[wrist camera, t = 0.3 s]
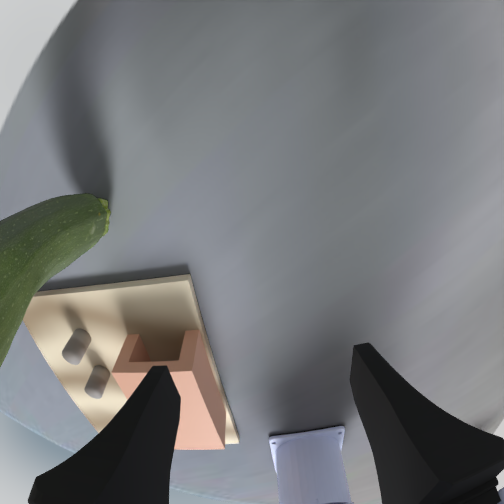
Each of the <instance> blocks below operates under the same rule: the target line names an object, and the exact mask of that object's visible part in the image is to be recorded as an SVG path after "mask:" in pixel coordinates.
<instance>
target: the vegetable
mask: <svg viewBox="0 0 504 504" xmlns="http://www.w3.org/2000/svg"><path fill="white" fill-rule="evenodd" d="M107 208H108V200H105V199H101V198H96V197H95V196H94V195H92V194H89V193H83V194H74V195H65V196H60V197H55V198H52V199H49V200H46V201H43V202H40V203H38V204H35V205H33V206H31V207H28V208H26V209H24V210H22V211H20V212H18V213H16V214H14V215H11V216H9V217H7V218H5V219H3V220H1V221H0V367H1V365H2V363H3V361H4V359H5V357H6V355H7V353H8V350H9V348H10V346H11V343H12V341H13V338H14V336H15V334H16V332H17V330H18V328H19V326H20V324H21V322H22V320H23V318H24V315H25V313H26V310H27V308H28V306H29V304H30V302H31V300H32V298H33V296H34V295H35V293H36V292H37V291H38V290H39V289H40V288H41V287H42V286H43V285H44V284H45V283H46V282H47V281H48V280H49V279H50V278H51V277H52V276H54V275H56V274H57V273H59V272H60V271H62V270H63V269H65V268H66V267H67V266H69V265H70V264H71V263H72V262H74V261H75V260H76V259H77V258H79V257H80V256H81V255H82V254H84V253H85V252H87V251H88V250H89V249H90V248H92V247H93V246H94V245H95V244H96V243H97V242H98V241H99V239H100V238H101V237H102V236H104V235H105V234H106V233H107V232H108V225H109V216H110V214H111V211H110V210H109V209H107Z"/></svg>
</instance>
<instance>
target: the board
mask: <svg viewBox="0 0 504 504" xmlns="http://www.w3.org/2000/svg"><path fill="white" fill-rule="evenodd" d="M23 321H24V323H25V325H26V327H27V328H28V330H29V332H30V334H31V336H32V337H33V339H34V341H35V343H36V344H37V346H38V348H39V349H40V351H41V353H42V354H43V356H44V358H45V359H46V361H47V362H48V364H49V366H50V367H51V369H52V370H53V372H54V373H55V375H56V376H57V378H58V379H59V381H60V382H61V384H62V385H63V387H64V388H65V390H66V391H67V392H68V394H69V395H70V397H71V398H72V399H73V401H74V402H75V403H76V405H77V406H78V407H79V409H80V410H81V411H82V413H83V414H84V415H85V417H86V418H87V419H88V420H89V422H90V423H91V424H92V425H93V427H94V428H95V429H96V430H97V431H98V433H100V432H101V431H102V430H103V428H104V427H105V426H106V425H107V424H108V423H109V422H110V421H111V420H112V419H113V417H114V416H115V415H116V414H117V413H118V411H119V410H120V409H121V408H122V407H123V405H124V404H125V403H126V401H127V398H126V397H125V395H124V393H123V392H122V390H121V388H120V387H119V385H118V383H117V382H116V380H115V378H114V376H113V375H112V373H111V372H112V370H113V367H114V365H115V363H116V360H117V358H118V355H119V353H120V351H121V348H122V346H123V344H124V341H125V339H126V337H127V335H130V334H139V335H140V337H141V339H142V342H143V344H144V346H145V348H146V351H147V353H148V355H149V357H150V360H151V362H157V361H178V360H179V357H180V353H181V348H182V344H183V339H184V335H185V331H189V330H199V331H200V334H201V337H202V340H203V344H204V347H205V350H206V353H207V356H208V360H209V363H210V366H211V369H212V372H213V375H214V378H215V381H216V384H217V387H218V390H219V393H220V396H221V399H222V402H223V404H224V407H225V410H226V430H225V444H236V443H240V437H239V434H238V431H237V428H236V425H235V423H234V420H233V417H232V414H231V411H230V408H229V405H228V402H227V399H226V396H225V393H224V389H223V386H222V383H221V380H220V377H219V374H218V370H217V367H216V364H215V361H214V357H213V354H212V351H211V347H210V344H209V341H208V337H207V334H206V330H205V327H204V323H203V320H202V316H201V313H200V309H199V306H198V302H197V298H196V295H195V291H194V287H193V283H192V279H191V276H190V274H186V275H178V276H170V277H162V278H153V279H145V280H136V281H128V282H119V283H111V284H102V285H93V286H84V287H75V288H66V289H57V290H47V291H38V292H36V293H35V295H34V296H33V298H32V300H31V302H30V304H29V306H28V308H27V310H26V313H25V315H24V318H23Z"/></svg>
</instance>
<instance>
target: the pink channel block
mask: <svg viewBox="0 0 504 504" xmlns="http://www.w3.org/2000/svg"><path fill="white" fill-rule="evenodd" d="M164 365H167V367H168V369H169V372H170V374H171V376H172V379H173V381H174V383H175V385H176V388H177V390H178V392H179V394H180V397H181V408H180V421H179V426H178V432H177V437H176V442H175V447H174V449H183V450H209V449H225V430H226V410H225V407H224V404H223V402H222V399H221V396H220V393H219V390H218V387H217V384H216V381H215V378H214V375H213V372H212V369H211V366H210V363H209V360H208V356H207V353H206V350H205V347H204V344H203V340H202V337H201V334H200V331H199V330H189V331H185V335H184V339H183V344H182V348H181V353H180V357H179V360H178V361H157V362H151V360H150V357H149V355H148V353H147V351H146V348H145V346H144V344H143V342H142V339H141V337H140V335H139V334H130V335H127V337H126V339H125V341H124V344H123V346H122V348H121V351H120V353H119V355H118V358H117V360H116V363H115V365H114V367H113V370H112V372H111V373H112V375H113V376H114V378H115V380H116V382H117V383H118V385H119V387H120V388H121V390H122V392H123V393H124V395H125V397H126V398H127V400H128V399H129V397H130V396H131V395H132V393H133V392H134V391H135V389H136V388H137V387H138V385H139V384H140V382H141V381H142V380H143V378H144V377H145V375H146V374H147V373H148V371H149V370H150V369H151V367H152V366H164Z"/></svg>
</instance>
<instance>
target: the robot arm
mask: <svg viewBox="0 0 504 504" xmlns="http://www.w3.org/2000/svg"><path fill="white" fill-rule="evenodd" d="M350 383H351V387H352V392H353V396H354V400H355V404H356V406H357V409H358V412H359V415H360V418H361V420H362V423H363V426H364V429H365V431H366V434H367V437H368V440H369V443H370V445H371V449H372V452H373V456H374V460H375V465H376V470H377V474H378V480H379V486H380V491H381V498H382V504H504V487H503V488H502V489H500V490H499V491H497V489H496V487H495V486H497V485H498V480H497V478H496V476H497V475H498V474H499V473H500V472H501V471H502V470H503V469H504V439H503V438H501V437H498V436H495V435H493V434H490V433H487V432H484V431H482V430H479V429H477V428H475V427H473V426H471V425H469V424H466V423H465V422H463V421H461V420H459V419H457V418H456V417H454V416H452V415H450V414H449V413H447V412H445V411H444V410H442V409H441V408H439V407H438V406H436V405H435V404H434V403H432V402H431V401H430V400H428V399H427V398H426V397H424V396H423V395H422V394H421V393H419V392H418V391H417V390H416V389H415V388H414V387H412V386H411V385H410V384H409V383H408V382H407V381H406V380H405V379H404V378H403V377H402V376H401V375H400V374H399V373H398V372H396V371H395V370H394V369H393V368H392V367H391V366H390V364H389V363H388V362H387V361H386V360H385V359H384V358H383V357H382V356H381V355H380V354H379V353H378V352H377V350H376V349H375V348H374V347H373V346H372V345H371V344H370V343H363V344H358V345H354V347H353V357H352V366H351V375H350ZM180 408H181V397H180V394H179V392H178V390H177V388H176V385H175V383H174V381H173V379H172V376H171V374H170V372H169V369H168V367H167V365H164V366H152V367H151V369H150V370H149V371H148V373H147V374H146V375H145V377H144V378H143V380H142V381H141V382H140V384H139V385H138V387H137V388H136V389H135V391H134V392H133V393H132V395H131V396H130V397H129V399H128V400H127V401H126V403H125V404H124V405H123V407H122V408H121V409H120V410H119V411H118V413H117V414H116V415H115V416H114V417H113V419H112V420H111V421H110V422H109V423H108V424H107V425H106V426H105V427H104V428H103V430H102V431H101V432H100V433H99V434H98V435H96V436H95V437H94V438H93V439H92V440H91V441H90V442H89V443H88V444H86V445H85V446H84V447H83V448H82V449H80V450H79V451H78V452H77V453H75V454H74V455H73V456H71V457H70V458H68V459H67V460H66V461H64V462H63V463H61V464H59V465H58V466H56V467H54V468H53V469H51V470H49V471H47V472H45V473H43V474H41V475H39V476H37V477H36V479H35V482H34V484H33V487H32V490H31V493H30V496H29V499H28V503H29V504H169V482H170V470H171V463H172V458H173V452H174V447H175V442H176V437H177V432H178V426H179V421H180ZM344 432H345V428H344V426H338V427H332V428H327V429H321V430H315V431H308V432H302V433H295V434H287V435H278V436H271V437H270V438H269V444H270V448H271V453H272V458H273V462H274V467H275V471H276V472H277V481H278V494H279V504H354V502H351V497H350V492H349V487H348V483H347V478H346V473H345V468H344V464H343V459H342V455H341V450H342V444H343V438H344Z"/></svg>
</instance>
